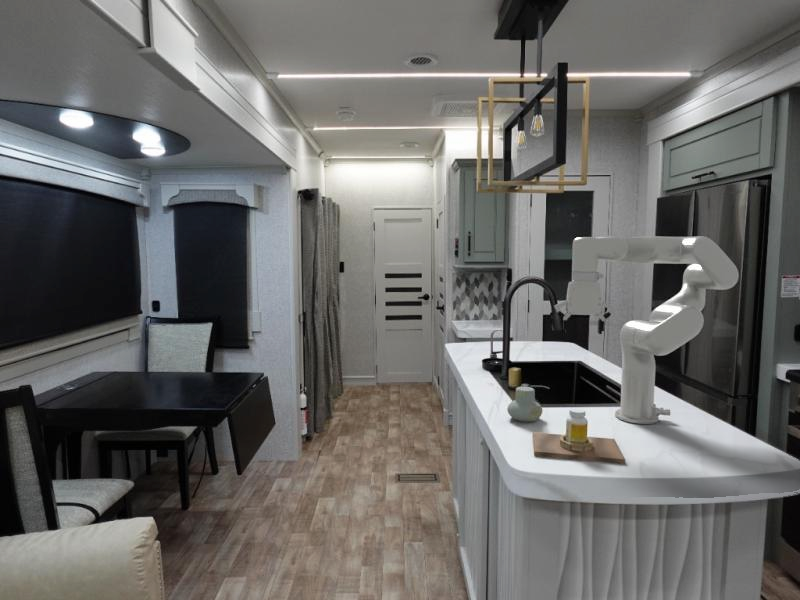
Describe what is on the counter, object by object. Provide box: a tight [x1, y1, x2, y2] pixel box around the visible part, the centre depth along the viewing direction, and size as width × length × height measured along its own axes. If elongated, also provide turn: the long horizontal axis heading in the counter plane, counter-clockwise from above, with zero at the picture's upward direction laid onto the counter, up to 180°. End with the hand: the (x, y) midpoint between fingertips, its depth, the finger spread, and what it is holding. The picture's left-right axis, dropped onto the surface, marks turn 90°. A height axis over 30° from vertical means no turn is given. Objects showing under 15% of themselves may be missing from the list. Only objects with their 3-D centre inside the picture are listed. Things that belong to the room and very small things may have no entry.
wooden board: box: [532, 432, 626, 465], centre depth 131 cm, size 22×14×3 cm, turn 76°
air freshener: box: [506, 386, 543, 423], centre depth 155 cm, size 11×8×10 cm
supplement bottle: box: [565, 407, 589, 444], centre depth 130 cm, size 5×5×10 cm
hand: (583, 333), depth 150 cm, fingers open, 9 cm apart
